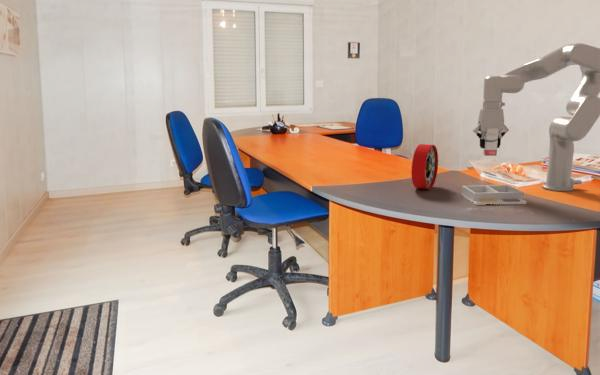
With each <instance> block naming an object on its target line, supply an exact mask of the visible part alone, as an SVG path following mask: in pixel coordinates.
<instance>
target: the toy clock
mask: <svg viewBox="0 0 600 375" xmlns="http://www.w3.org/2000/svg"><path fill="white" fill-rule="evenodd" d="M438 169H439V154H438V149H437V147H436V145H435V144H428V143H427V144H425V143H419V144H418V145H417V146H416V147H415V150H414V153H413V156H412V162H411V170H410V172H411V182H412V185H413V187H414V188H415V189H419V190H420V189H422V190H431V189H433V187H434V185H435V183H436V179H437V176H438Z"/></svg>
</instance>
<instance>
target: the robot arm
mask: <svg viewBox="0 0 600 375" xmlns="http://www.w3.org/2000/svg"><path fill="white" fill-rule="evenodd" d="M575 65H576V66H579V70H580V72H581V81H580V83H579V84H578V87H577V88H576V89H575V91H574V93H573V94H572V96H571V97H570V98H569V100H568V101H567V104H566V106H565V110H566V112H567V114H569V115H570V116H571V117H570V116H559V117H555V118H554V119H553V120H552V121H551V122H550V124H549V128H548V135H549V148H548V151H549V152H548V159H547V169H546V181H545V183H542V184H541V188H543V189H545V190H548V191H555V192H572V191H574V189H575V185H582V180H581V179H574V178H572V171H573V162H574V161H573V160H574V154H575V144H574V142H579V141H581V140H582V139H584V138H586V136H587V135H588V134H589V132H590V131H591V130H592V127H593V126H594V125H595V123H596V122H597V121H598V119H599V118H600V97H599V95H600V47H597V46H596V47H595V46H593V45H588V44H585V43H579V42H578V43H569V44H566V45H563V46H561V47H559V48H557V49H555V50H553V51H551V52H549V53H547V54H545V55H543V56H542V57H541V56H540V57H539V58H537V59H535V60H533V61H530V62H528V63H525V64H523V65H521V66H519V67H516V68H514V69H511V70H510V71H508V72H506V73H504V74H503V75H502V74H501V76H500V75H496V76H495V75H489V76H486V77H485V78H484V80H483V81H484V82H483V98H482V99H483V100H482V108H481V109H480V110H479V114H478V119H477V125H476V126H475V128H474V129H473V130H472V132H473V133H474V135H476V136H477V137H478V139H479V146H480V148H481V149H483V148H485V139H484V137H485V135H486V130H487V128H498V129H499V132H498V143H497V149H499V148H500V147H501V140H502V139H503V137H504V136H505V135H506V134H507V133H508V132H509V131H510V130H509V128H508V127H507V125H505V114H504V109H503V107H504V106H506V104H505V102H503V94H504V93H505V94H517V93H520V92H521V91H523V89H524V88H525V84H526V83H529V82H531V81H532V82H533V81H538V80H542V79H546V78H548V77H550V76H552V75H554V74H556V73H557V72H560V71H561V70H563V69H565V68H567V67H570V66H575Z"/></svg>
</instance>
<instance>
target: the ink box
mask: <svg viewBox="0 0 600 375" xmlns="http://www.w3.org/2000/svg"><path fill="white" fill-rule="evenodd" d="M498 132H499V129H498V128H487V130H486V135H485V137H484V139H485V148H481V150H482V151H481V153H482V154H483V155H484V156H486V157H488V156H489V157H492V156H495V157H496V156H497V152H498V148H497V143H498Z"/></svg>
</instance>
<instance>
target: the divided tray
mask: <svg viewBox="0 0 600 375" xmlns="http://www.w3.org/2000/svg"><path fill="white" fill-rule="evenodd" d="M524 194H525V192H524V191H522V190H520V189H518V188H516V187H513V186H512V185H510V184H491V185H490V184H487V185H485V184H484V185H483V184H482V185H477V184H475V185H461V196H462V197H463V198H465V199H467V200H468V201H469V200H470V201H469V202H471V203H472V202H473V203H472V204H474V205H475V204H476V206H487V205H486V204H491V206H493V205H492V204H494V206H495V204H496V205H497V204H498V205H499V204H500V205H527V200H525V199H524ZM498 205H497V206H498Z"/></svg>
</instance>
